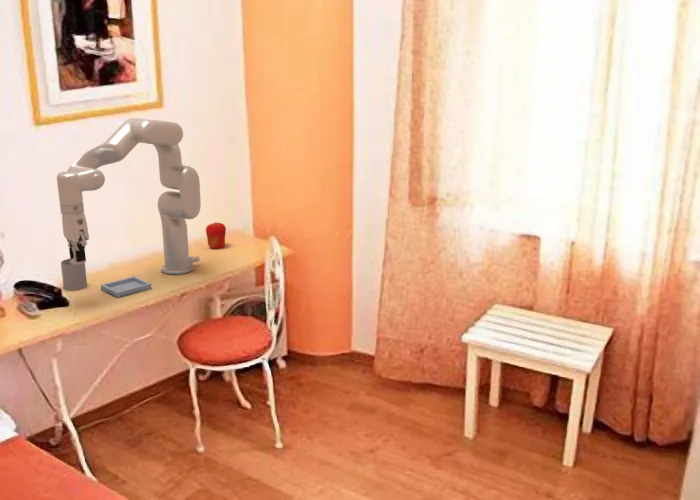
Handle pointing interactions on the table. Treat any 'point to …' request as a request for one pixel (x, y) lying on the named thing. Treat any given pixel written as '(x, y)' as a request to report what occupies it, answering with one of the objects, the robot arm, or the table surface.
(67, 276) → the cup
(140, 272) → the table surface
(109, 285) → the tray
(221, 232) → the apple
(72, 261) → the chess piece
